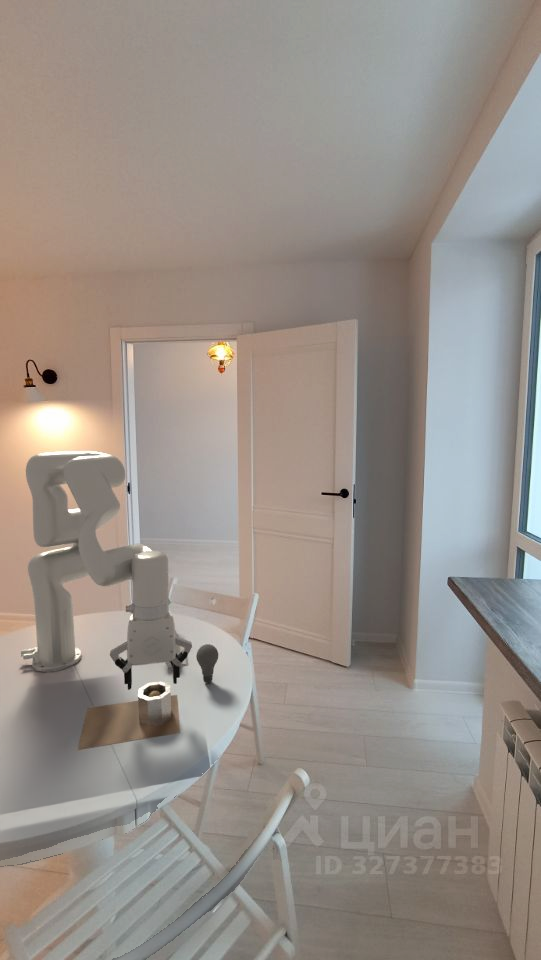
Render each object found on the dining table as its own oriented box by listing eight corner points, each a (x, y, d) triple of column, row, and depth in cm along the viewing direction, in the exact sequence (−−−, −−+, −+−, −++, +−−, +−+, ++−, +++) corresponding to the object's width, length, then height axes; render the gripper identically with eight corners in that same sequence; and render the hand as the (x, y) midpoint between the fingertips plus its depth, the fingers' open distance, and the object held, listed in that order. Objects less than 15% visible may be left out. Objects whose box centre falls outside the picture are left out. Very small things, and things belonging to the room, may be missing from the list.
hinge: (188, 670, 121) (175, 638, 119) (172, 678, 120) (157, 646, 118) (185, 642, 137) (172, 614, 135) (170, 649, 136) (157, 620, 134)
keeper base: (77, 756, 89) (75, 722, 88) (88, 714, 103) (86, 684, 102) (180, 739, 94) (179, 707, 93) (177, 700, 108) (176, 672, 107)
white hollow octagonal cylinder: (138, 728, 95) (137, 701, 95) (139, 709, 102) (138, 684, 101) (171, 723, 97) (170, 696, 96) (170, 704, 104) (169, 680, 103)
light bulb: (221, 686, 114) (220, 648, 113) (199, 690, 112) (198, 652, 111) (216, 674, 119) (215, 638, 118) (195, 679, 117) (194, 642, 116)
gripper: (106, 620, 91) (109, 698, 93) (192, 612, 95) (193, 687, 98) (110, 605, 98) (112, 679, 101) (190, 599, 103) (191, 669, 105)
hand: (152, 683), depth 99 cm, fingers open, 9 cm apart
